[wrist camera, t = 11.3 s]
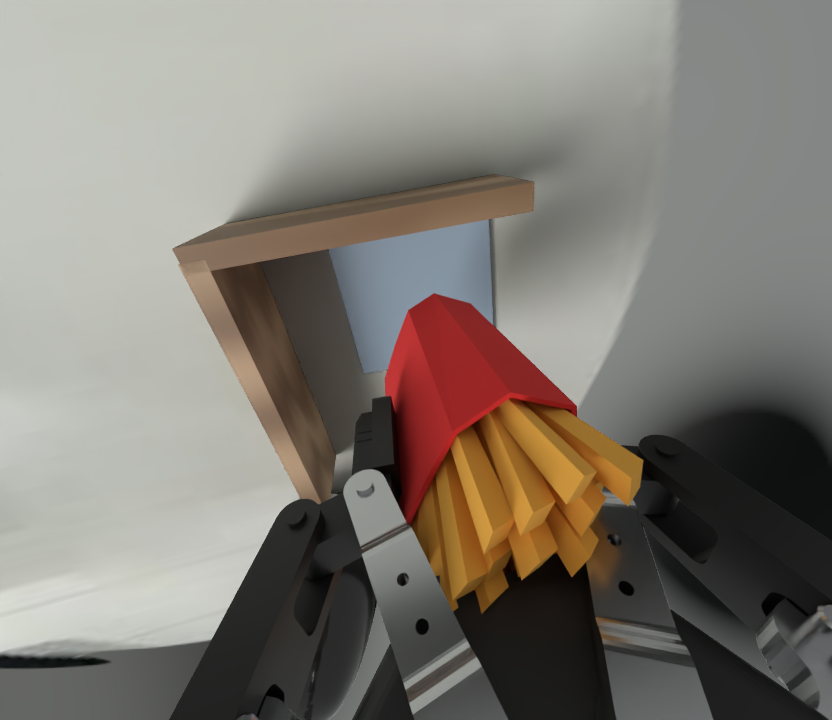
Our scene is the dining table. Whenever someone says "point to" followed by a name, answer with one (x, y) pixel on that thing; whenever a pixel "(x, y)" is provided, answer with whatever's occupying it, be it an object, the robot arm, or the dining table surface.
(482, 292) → the mat
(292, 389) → the wooden corner bracket
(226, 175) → the dining table surface
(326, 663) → the pump dispenser
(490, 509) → the french fries
